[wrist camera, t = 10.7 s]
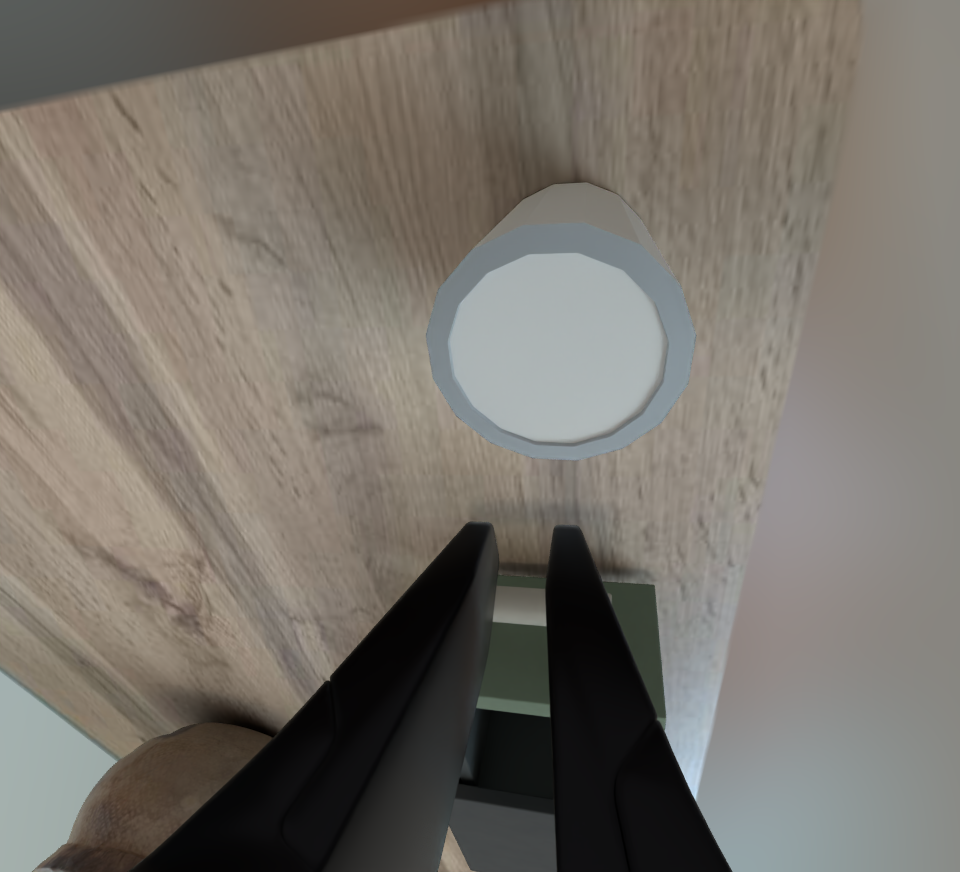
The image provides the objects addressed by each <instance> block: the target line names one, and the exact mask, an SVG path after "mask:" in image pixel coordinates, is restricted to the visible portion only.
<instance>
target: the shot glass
mask: <svg viewBox="0 0 960 872" xmlns="http://www.w3.org/2000/svg"><path fill="white" fill-rule="evenodd" d="M426 339H427V345H428V351H429V357H430V363H431V369H432V375H433V379H434V381H435V383H436V384H437V386H438V387H439V389H440V391H441V392H442V394H443V396H444V397H445V399H446V400H447V402H448V404H449V405H450V407H451V408H452V410H453V412H454V413H455V415H456V416H457V417H458V418H460V419H461V420H462V421H463V422H465V423H466V424H467V425H468V426H470V427H471V428H472V429H474V430H475V431H476V432H477V433H479V434H480V435H481V436H482V437H484V438H485V439H486V440H488V441H489V442H490V443H492V444H495V445H498V446H501V447H503V448H506V449H509V450H511V451H514V452H517V453H520V454H522V455H525V456H528V457H531V458H539V459H559V460H581V459H585V458H589V457H593V456H597V455H601V454H604V453H608V452H612V451H616V450H620V449H623V448H624V447H626V446H627V445H629V444H630V443H632V442H633V441H635V440H636V439H638V438H639V437H641V436H642V435H644V434H645V433H647V432H648V431H650V430H651V429H653V428H654V427H656V426H657V425H659V424H660V423H662V421H663V420H664V418H665V417H666V415H667V414H668V412H669V411H670V409H671V408H672V407H673V405H674V404H675V402H676V401H677V399H678V398H679V396H680V395H681V394H682V392H683V391H684V389H685V388H686V386H687V385H688V382H689V376H690V370H691V364H692V358H693V352H694V347H695V341H696V333H695V330H694V327H693V323H692V320H691V317H690V314H689V310H688V307H687V304H686V301H685V298H684V294H683V291H682V288H681V285H680V284H679V282H678V280H677V279H676V277H675V275H674V274H673V272H672V270H671V269H670V267H669V265H668V263H667V262H666V260H665V258H664V257H663V255H662V253H661V252H660V250H659V248H658V247H657V245H656V243H655V242H654V240H653V238H652V237H651V235H650V233H649V232H648V230H647V228H646V227H645V225H644V223H643V222H642V220H641V218H640V217H639V216H638V215H637V214H636V213H635V212H634V211H633V210H632V209H631V208H630V207H629V206H628V205H627V204H626V202H625V201H624V200H623V199H622V198H621V197H620V196H619V195H618V194H615V193H613V192H610V191H608V190H605V189H603V188H600V187H597V186H595V185H592V184H590V183H587V182H585V183H567V184H553V185H551V186H549V187H547V188H545V189H543V190H541V191H539V192H537V193H535V194H533V195H531V196H529V197H527V198H525V199H523V200H522V201H521V202H520V203H519V204H518V205H517V206H516V207H515V208H514V209H513V210H512V211H511V212H510V213H509V214H508V215H507V216H506V217H505V218H504V219H503V220H502V221H501V222H499V223H498V224H497V225H496V226H495V227H494V228H493V229H492V230H491V231H490V232H489V233H488V234H487V235H486V236H485V237H484V238H483V239H482V240H481V241H480V242H479V243H478V244H477V245H476V246H475V247H474V248H473V249H472V250H471V251H470V252H469V253H468V255H467V256H466V257H465V258H464V259H463V260H462V262H461V263H460V264H459V265H458V266H457V268H456V269H455V270H454V271H453V272H452V274H451V275H450V276H449V277H448V278H447V280H446V281H445V282H444V283H443V284H442V285H441V287H440V288H439V289H438V292H437V295H436V299H435V303H434V306H433V310H432V314H431V318H430V321H429V325H428V329H427V333H426Z"/></svg>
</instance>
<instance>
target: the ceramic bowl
mask: <svg viewBox="0 0 960 872" xmlns="http://www.w3.org/2000/svg"><path fill="white" fill-rule="evenodd" d="M271 739H272V737H270V736H268V735H265V734H263V733H260V732H257V731H254V730H251V729H247V728H244V727H240V726H235V725H231V724H221V723H215V722H214V723H198V724H193V725H189V726H186V727H183V728H181V729H179V730H177V731H175V732H173V733H171V734H167V735H162V736H159V737H156V738H153V739H151V740H149V741H147V742H146V743H144V744H142V745H141V746H139V747H138V748H136V749H135V750H134V751H133V752H131V753H130V754H128V755H127V756H125V757H123V758H122V759H120V760H119V761H118V762H117V763H116V764H115V765H113V766H112V767H111V768H110V769H109V770H108V771H107V772H106V774H105V775H104V776H103V777H102V778H101V779H100V780H99V782H98V783H97V784H96V785H95V787H94V788H93V789H92V791H91V792H90V794H89V795H88V797H87V799H86V800H85V802H84V804H83V805H82V807H81V809H80V811H79V813H78V816H77V818H76V820H75V823H74V825H73V828H72V831H71V834H70V837H69V840H68V841H67V844H65V845H62V846H61V847H60V848H59V849H58V850H57V851H56V852H55V853H54V854H52V855H51V856H50V857H48V858H47V859H46V860H44V861H43V862H42V863H41V864H40V865H39V866H38V867H37V868H35V870H33V871H32V872H127V871H128V870H130V869H131V868H133V867H134V866H135V865H137V864H138V863H139V862H140V861H142V860H143V859H144V858H145V857H147V856H148V855H149V854H150V853H152V852H153V851H154V850H155V849H156V848H157V847H158V846H160V845H161V844H162V843H163V842H164V841H165V840H166V839H167V838H168V837H169V836H171V835H172V834H173V833H174V832H175V831H176V830H177V829H178V828H179V827H180V826H181V825H182V824H183V823H184V822H185V821H186V820H187V819H189V818H190V817H191V816H192V815H193V814H194V813H195V812H196V811H197V810H198V809H199V808H200V807H201V806H202V805H203V804H204V803H205V802H207V801H208V800H209V799H210V798H211V797H212V796H213V795H214V794H215V793H216V792H217V791H218V790H219V789H220V788H221V787H222V786H223V785H225V784H226V783H227V782H228V781H229V780H230V779H231V778H232V777H233V776H234V775H235V774H236V773H237V772H238V771H239V770H240V769H241V768H243V767H244V766H245V765H246V764H247V763H248V762H249V761H250V760H251V759H252V758H253V757H254V756H255V755H256V754H257V753H258V752H259V751H260V750H261V749H262V748H263V747H264V746H265V745H266V744H267V743H268V742H269V741H270V740H271Z"/></svg>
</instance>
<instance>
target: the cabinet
mask: <svg viewBox="0 0 960 872" xmlns="http://www.w3.org/2000/svg"><path fill="white" fill-rule="evenodd" d="M449 826H450V829H451V831H452V833H453V835H454V837H455V839H456V841H457V843H458V845H459V847H460V849H461V851H462V853H463V855H464V857H465V859H466V862H467V864H468V866H469V868H470V870H472V871H477V872H557V864H556V841H555V817H554V799H551V798H545V797H539V796H533V795H527V794H521V793H514V792H508V791H502V790H496V789H490V788H483V787H477V786H471V785H465V784H463V783H462V780H461V778H460V779H459V783H458V787H457V791H456V796H455V800H454V804H453V809H452V813H451V817H450V821H449Z"/></svg>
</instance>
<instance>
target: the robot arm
mask: <svg viewBox="0 0 960 872" xmlns="http://www.w3.org/2000/svg"><path fill="white" fill-rule="evenodd" d="M498 570H499V554H498V548H497V543H496V537H495V532H494V527H493V525H492V524H491V523H489V522H469V523H467V524H466V525H465V526H464V527H463V528H462V529H461V530H460V531H459V533H458V534H457V535H456V536H455V537H454V538H453V539H452V540H451V541H450V543H449V544H448V545H447V546H446V547H445V548H444V549H443V550H442V552H441V553H440V554H439V555H438V556H437V557H436V558H435V559H434V561H433V562H432V563H431V564H430V565H429V566H428V567H427V568H426V570H425V571H424V572H423V573H422V574H421V575H420V576H419V577H418V578H417V580H416V581H415V582H414V583H413V584H412V585H411V586H410V587H409V589H408V590H407V591H406V592H405V593H404V594H403V595H402V596H401V598H400V599H399V600H398V601H397V602H396V603H395V604H394V605H393V606H392V608H391V609H390V610H389V611H388V612H387V613H386V614H385V615H384V617H383V618H382V619H381V620H380V621H379V622H378V623H377V624H376V626H375V627H374V628H373V629H372V630H371V631H370V632H369V633H368V635H367V636H366V637H365V638H364V639H363V640H362V641H361V642H360V643H359V645H358V646H357V647H356V648H355V649H354V650H353V651H352V652H351V654H350V655H349V656H348V657H347V658H346V659H345V660H344V661H343V663H342V664H341V665H340V666H339V667H338V668H337V669H336V670H335V672H334V673H333V674H332V675H331V676H330V681H328V680H327V681H325V682H324V684H323V685H322V686H321V687H320V688H319V689H318V690H317V691H316V693H315V694H314V695H313V696H312V697H311V698H310V699H309V700H308V701H307V703H306V704H305V705H304V706H303V707H302V708H301V709H300V710H299V711H298V712H297V713H296V714H295V715H294V716H293V718H292V719H291V720H290V721H289V722H288V723H287V724H286V725H285V726H284V727H283V728H282V729H281V730H280V731H279V732H278V733H277V734H276V735H275V736H274V737H273V738H272V739H271V740H270V741H269V742H268V743H267V744H266V745H265V746H264V747H263V748H262V749H261V750H260V751H259V752H258V753H257V754H256V755H255V756H254V757H253V758H252V759H251V760H250V761H249V762H248V763H247V764H246V765H245V766H244V767H243V768H241V769H240V770H239V771H238V772H237V773H236V774H235V775H234V776H233V777H232V778H231V779H230V780H229V781H228V782H227V783H226V784H225V785H223V786H222V787H221V788H220V789H219V790H218V791H217V792H216V793H215V794H214V795H213V796H212V797H211V798H210V799H209V800H208V801H207V802H205V803H204V804H203V805H202V806H201V807H200V808H199V809H198V810H197V811H196V812H195V813H194V814H193V815H192V816H191V817H190V818H189V819H187V820H186V821H185V822H184V823H183V824H182V825H181V826H180V827H179V828H178V829H177V830H176V831H175V832H174V833H173V834H172V835H171V836H169V837H168V838H167V839H166V840H165V841H164V842H163V843H162V844H161V845H160V846H158V847H157V848H156V849H155V850H154V851H153V852H152V853H150V854H149V855H148V856H147V857H145V858H144V859H143V860H142V861H140V862H139V863H138V864H137V865H135V866H134V867H133V868H131V869H130V870H128V871H127V872H438V868H439V864H440V860H441V856H442V851H443V847H444V843H445V838H446V834H447V830H448V826H449V821H450V817H451V813H452V809H453V804H454V800H455V796H456V791H457V787H458V783H459V779H460V774H461V770H462V766H463V762H464V757H465V753H466V749H467V745H468V740H469V736H470V732H471V727H472V723H473V719H474V715H475V710H476V706H477V702H478V698H479V693H480V689H481V685H482V680H483V676H484V672H485V668H486V663H487V658H488V653H489V647H490V640H491V631H492V623H493V614H494V605H495V596H496V587H497V579H498ZM545 605H546V629H547V652H548V676H549V700H550V723H551V747H552V770H553V794H554V817H555V841H556V864H557V872H732V870H731V868H730V867H729V865H728V863H727V861H726V859H725V857H724V855H723V854H722V852H721V850H720V848H719V846H718V845H717V843H716V841H715V839H714V837H713V835H712V833H711V831H710V829H709V827H708V825H707V823H706V821H705V819H704V817H703V815H702V813H701V811H700V809H699V807H698V805H697V803H696V801H695V799H694V797H693V795H692V793H691V791H690V789H689V787H688V784H687V782H686V780H685V778H684V776H683V773H682V771H681V769H680V767H679V764H678V762H677V760H676V758H675V755H674V753H673V751H672V749H671V746H670V744H669V741H668V739H667V736H666V734H665V732H664V729H663V727H662V724H661V722H660V721H659V720H657V717H658V716H657V713H656V711H655V708H654V706H653V703H652V701H651V698H650V696H649V694H648V691H647V689H646V686H645V684H644V681H643V679H642V677H641V674H640V672H639V669H638V667H637V664H636V662H635V660H634V657H633V655H632V652H631V650H630V647H629V645H628V643H627V640H626V638H625V635H624V633H623V630H622V628H621V626H620V623H619V621H618V618H617V616H616V613H615V611H614V609H613V606H612V604H611V601H610V599H609V596H608V594H607V592H606V589H605V587H604V584H603V582H602V579H601V577H600V575H599V572H598V570H597V567H596V565H595V562H594V560H593V558H592V555H591V553H590V550H589V548H588V545H587V543H586V541H585V538H584V536H583V533H582V531H581V529H580V528H579V526H576V525H556V526H555V527H554V530H553V536H552V543H551V549H550V556H549V563H548V569H547V576H546V585H545Z"/></svg>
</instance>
